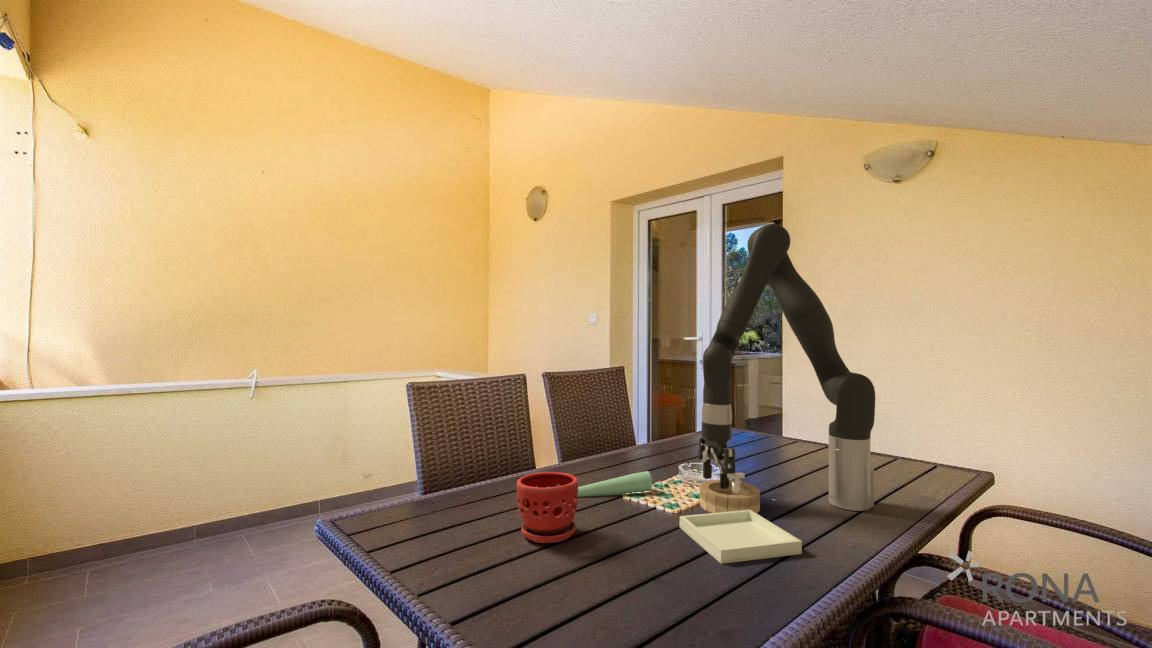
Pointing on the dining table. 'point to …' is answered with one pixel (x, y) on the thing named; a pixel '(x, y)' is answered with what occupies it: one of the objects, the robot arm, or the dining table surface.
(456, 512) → the dining table surface
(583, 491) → the mint green cone
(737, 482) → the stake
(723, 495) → the wooden ring
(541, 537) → the plant pot
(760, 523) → the tray
